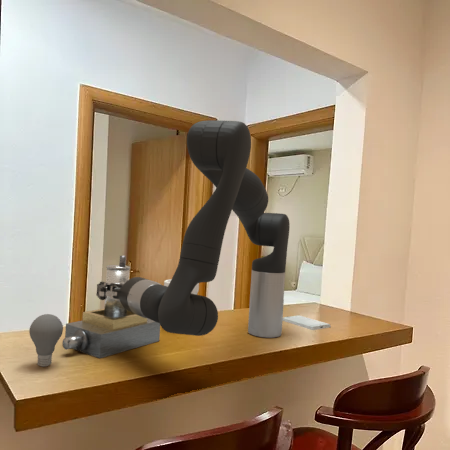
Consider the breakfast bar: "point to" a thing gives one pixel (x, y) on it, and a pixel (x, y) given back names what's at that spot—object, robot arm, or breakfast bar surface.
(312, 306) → the breakfast bar surface
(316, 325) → the hard drive
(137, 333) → the gearbox
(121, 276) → the spout can
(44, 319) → the light bulb
